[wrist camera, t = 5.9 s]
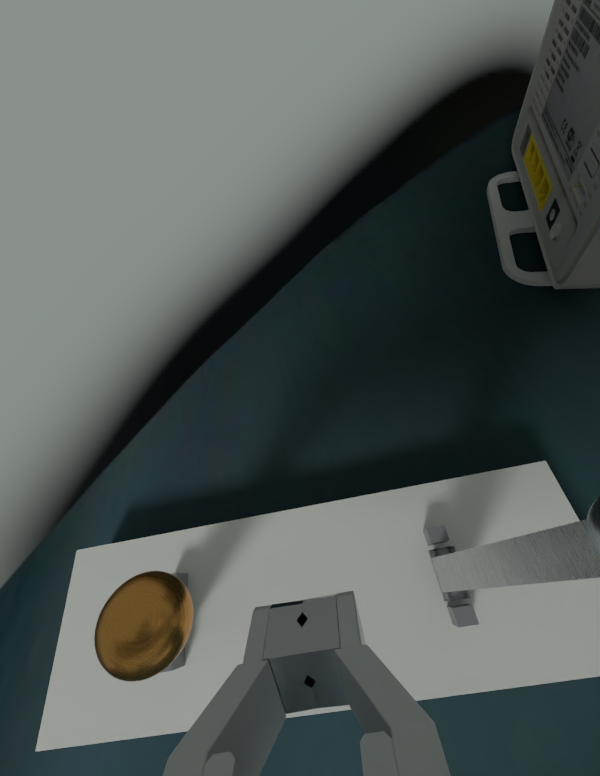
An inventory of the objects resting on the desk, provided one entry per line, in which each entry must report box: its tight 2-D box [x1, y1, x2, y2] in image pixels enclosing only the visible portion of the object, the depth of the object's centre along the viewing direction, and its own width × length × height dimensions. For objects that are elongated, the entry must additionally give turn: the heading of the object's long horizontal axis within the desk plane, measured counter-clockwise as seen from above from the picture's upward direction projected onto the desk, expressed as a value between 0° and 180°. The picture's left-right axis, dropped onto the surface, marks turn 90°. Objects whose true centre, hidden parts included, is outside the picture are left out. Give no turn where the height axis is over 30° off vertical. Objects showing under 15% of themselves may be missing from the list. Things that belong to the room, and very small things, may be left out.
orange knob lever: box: [94, 571, 194, 682], centre depth 15 cm, size 3×3×12 cm
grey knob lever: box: [429, 497, 600, 601], centre depth 13 cm, size 3×3×12 cm
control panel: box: [35, 461, 600, 752], centre depth 20 cm, size 32×10×4 cm, turn 99°
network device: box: [487, 0, 600, 289], centre depth 27 cm, size 26×9×20 cm, turn 171°
